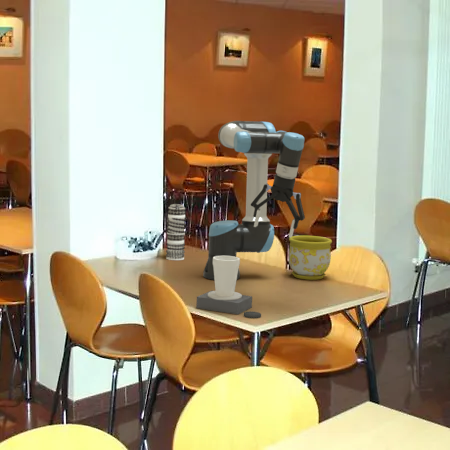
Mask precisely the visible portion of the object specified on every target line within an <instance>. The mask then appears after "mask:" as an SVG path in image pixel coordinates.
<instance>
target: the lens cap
mask: <svg viewBox="0 0 450 450" xmlns="http://www.w3.org/2000/svg"><path fill="white" fill-rule="evenodd" d="M243 317H244V318H247V319H260V318H262V313H261V312H259V311H251V310H250V311H249V310H248V311H244V312H243Z"/></svg>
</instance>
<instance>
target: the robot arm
mask: <svg viewBox="0 0 450 450" xmlns="http://www.w3.org/2000/svg"><path fill="white" fill-rule="evenodd" d="M217 134H218V135H217V136H218V141H219V142H220V143H221V145H222V146H223V147H225V148H228V149H232V150H233V149H234V151H235V152H237V153H242V154H243V155H244V156H245V157H246V159H247V162H246V166H247V167H246V191H245V192H246V197H245V216H244V217H243V218H242V219H241V223H239V222H238V221H237V220H230V219H229V220H220V221H214V222H213V223H211V224H210V225H209V230H208V231H209V233H208V256H207V261H206V263H205V266H204V269H203V273H202V274H203V278H205V279H208V280H211V281H215V279H214V268H213V257H215V256H235V257H237V253H258V254H259V253H267V252H268V251H270V250H271V248H272V247H273V244H274V239H275V228H274V225H273V224H271V220H270V219H269V218H268V216H267V210H268V209H267V206H268V202H269V201H271V200H272V199H274V200H275V201H280V202H282V203H285V204H286V205H287V207H288V208H289V210H290V212H291V215H292V216H293V219H292V221H291V225H290V230H289V234H288V238H290V237H292V236H294V231H295V230H296V229H298V226H299V223H300V222H299V221H304V220H305V218H306V217H305V211H304V208H303V204H302V203H303V202H302V200H301V198H302V193H301V192H294V188H295V185H296V178H297V175H298V171H299V166H300V162H301V158H302V154H303V150H304V147H305V137H304V136H303V135H302V134H299V133H297V132H290V131H289V132H287V131H285V130H278V131H276V128H275V126H274V124H273V123H272V122H269V121H263V120H262V121H258V120H257V121H255V120H254V121H253V120H252V121H251V120H233V121H229V122H227V123H225V124H223V125H222V126H221V127H220V129H219V131H218V133H217ZM273 154H279V156H278V161H277V166H276V169H275V173H276V174H275V175H274V177H273V178H274V180H273V183H272V185H270V184H269V183H268V169H269V158H270V157H272V155H273ZM269 190H270V192H271V195H268V191H269ZM292 197H293V198H294V200H295V203H296V207H297V208H296V207H295V205H294V203H293V200H292ZM239 268H240V267H239ZM239 268H238V274H237V280H239V279H241V277H240V276H241V275H240V273H241V272H240V269H239Z"/></svg>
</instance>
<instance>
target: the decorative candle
mask: <svg viewBox="0 0 450 450" xmlns="http://www.w3.org/2000/svg"><path fill="white" fill-rule="evenodd" d="M167 208H168V214H167V219H166V225H167V226H166V234H167V241H166V243H165V246H166V247H165V249H166V251H165V253H166V254H165V258H166V260H169V261H184V260H185V253H186V251H185V249H186V247H185V245H186V244H185V234H186V231H185V230H186V229H187V228H186V225H187V224H186V223H185V222H187V216H186V207H185V206H184V204H179V203H173V204H170V205H169V206H168V207H167Z"/></svg>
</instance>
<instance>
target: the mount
mask: <svg viewBox="0 0 450 450" xmlns="http://www.w3.org/2000/svg"><path fill="white" fill-rule="evenodd" d="M252 307H253V296H251V295H245V294H242V293H240V292H237V291H234V295H233V296H219V295H216V291H215V290H210V291H207V292H205V293H203V294H200V295H198V296H196V309H200V310H205V311H206V310H207V311H214V312H218V313H219V312H220V313H226V314H232V315H239V314H242V313H244V312H247V311H249V310H250V309H251V308H252Z"/></svg>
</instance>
